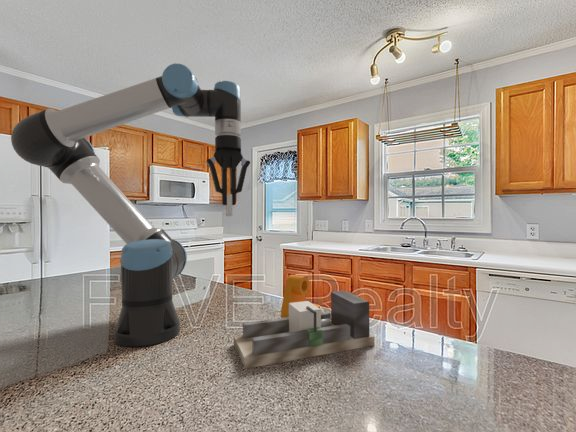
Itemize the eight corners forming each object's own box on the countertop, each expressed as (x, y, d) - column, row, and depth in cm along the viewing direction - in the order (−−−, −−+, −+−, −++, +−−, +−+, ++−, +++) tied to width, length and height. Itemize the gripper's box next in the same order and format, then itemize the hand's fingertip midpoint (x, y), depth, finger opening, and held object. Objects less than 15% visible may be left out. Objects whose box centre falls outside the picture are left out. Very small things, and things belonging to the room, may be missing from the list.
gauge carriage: (304, 347, 67) (304, 313, 66) (288, 331, 76) (288, 301, 75) (342, 341, 70) (342, 308, 70) (323, 326, 79) (322, 297, 78)
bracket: (303, 325, 86) (302, 281, 86) (280, 320, 90) (280, 278, 90) (321, 314, 95) (321, 274, 95) (300, 310, 99) (300, 271, 99)
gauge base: (245, 369, 62) (244, 318, 62) (233, 344, 74) (233, 301, 73) (374, 345, 73) (374, 301, 72) (347, 327, 84) (347, 289, 84)
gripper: (206, 132, 88) (208, 216, 89) (252, 135, 93) (253, 216, 93) (204, 138, 96) (205, 216, 96) (246, 140, 100) (247, 215, 100)
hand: (229, 216), depth 95 cm, fingers closed
